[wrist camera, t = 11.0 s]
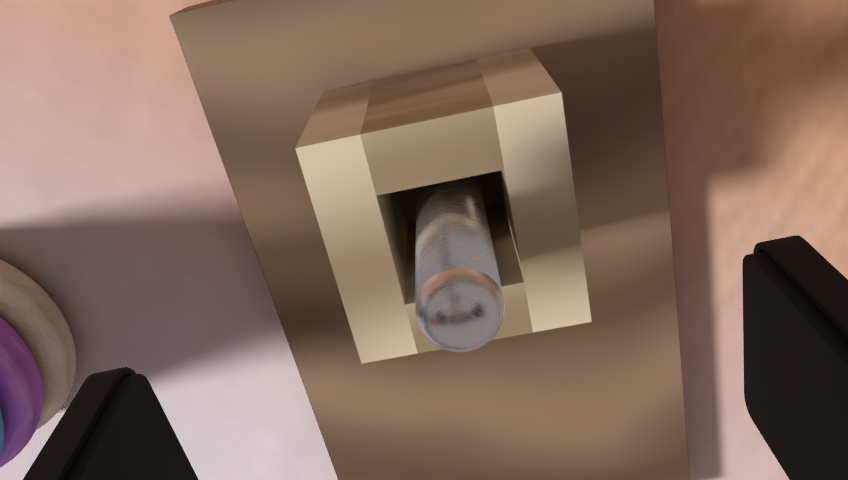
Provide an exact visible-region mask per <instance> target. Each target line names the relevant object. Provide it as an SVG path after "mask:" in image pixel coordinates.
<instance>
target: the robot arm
mask: <svg viewBox="0 0 848 480" xmlns="http://www.w3.org/2000/svg"><path fill="white" fill-rule="evenodd" d="M743 332H744V395H745V402H746V406H747V409H748V412H749V414H750V416H751V418H752V420H753V422H754V423H755V425H756V427H757V428H758V430H759V431H760V433H761V435H762V436H763V438H764V439H765V441H766V443H767V444H768V446H769V447H770V449H771V451H772V452H773V454H774V455H775V457H776V459H777V460H778V462H779V463H780V465H781V467H782V468H783V470H784V471H785V473H786V475H787V476H788V478H789V479H790V480H848V280H847V279H846V278H845V277H844V276H843V275H842V274H841V273H840V272H839V271H838V270H837V269H835V268H834V267H833V266H832V265H831V264H830V263H829V262H828V261H827V260H826V259H825V258H824V257H823V256H822V255H820V254H819V253H818V252H817V251H816V250H815V249H814V248H813V247H812V246H811V245H810V244H809V243H808V242H807V241H806V240H804V239H803V238H802V237H800V236H790V237H785V238H780V239H775V240H770V241H765V242H760V243H758V244H756V245H755V248H754V253H753V254H750V255H746V256H745V257H744V259H743ZM23 480H198V478H197V476H196V474H195V472H194V470H193V468H192V466H191V464H190V462H189V460H188V458H187V456H186V454H185V452H184V450H183V448H182V446H181V444H180V442H179V440H178V438H177V437H176V435H175V433H174V431H173V429H172V427H171V425H170V423H169V421H168V419H167V417H166V415H165V413H164V411H163V409H162V407H161V405H160V403H159V401H158V399H157V397H156V395H155V393H154V391H153V389H152V387H151V385H150V383H149V381H148V380H147V378H146V377H145V376H144V375H142V374H136V373H135V372H134V371H133V370H132V369H131V368H127V367H125V368H120V369H115V370H109V371H104V372H99V373H94V374H92V375H89V377H88V378H87V379H86V380H85V382H84V383H83V385H82V386H81V388H80V390H79V391H78V393H77V394H76V396H75V398H74V399H73V401H72V402H71V404H70V406H69V407H68V409H67V410H66V412H65V413H64V415H63V417H62V418H61V420H60V421H59V423H58V425H57V426H56V428H55V429H54V431H53V433H52V434H51V436H50V437H49V439H48V441H47V442H46V444H45V445H44V447H43V448H42V450H41V452H40V453H39V455H38V456H37V458H36V460H35V461H34V463H33V464H32V466H31V468H30V469H29V471H28V472H27V474H26V476H25V477H24V479H23Z"/></svg>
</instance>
